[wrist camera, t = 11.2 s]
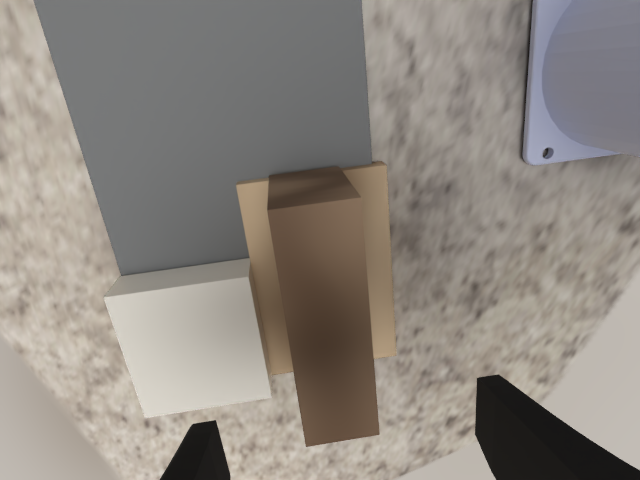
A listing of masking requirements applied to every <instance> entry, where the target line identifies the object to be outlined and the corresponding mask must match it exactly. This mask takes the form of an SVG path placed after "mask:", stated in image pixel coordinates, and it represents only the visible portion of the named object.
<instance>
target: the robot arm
mask: <svg viewBox="0 0 640 480" xmlns="http://www.w3.org/2000/svg"><path fill="white" fill-rule="evenodd" d="M546 148H548V154H547V155H546V156H545V157H543V155H542V154H543V151H544V150H545V149H546ZM616 154H627V155H632V156H636V157H640V0H533V8H532V23H531V38H530V52H529V67H528V82H527V97H526V112H525V126H524V141H523V159H524V161H525V162H526V163H528V164H530V165H542V164H550V163H557V162H565V161H572V160H579V159H587V158H594V157H602V156H609V155H616ZM475 435H476V437H477V439H478V442H479V444H480V446H481V449H482V451H483V453H484V455H485V458H486V460H487V462H488V465H489V467H490V469H491V471H492V473H493V475H494V476H495V478H496V480H640V470H638V469H636V468H634V467H633V466H631V465H629V464H628V463H626V462H624V461H623V460H621V459H619V458H618V457H616V456H615V455H613V454H611V453H610V452H608V451H607V450H605V449H604V448H602V447H600V446H599V445H597V444H596V443H594V442H593V441H591V440H589V439H588V438H586V437H585V436H583V435H582V434H580V433H579V432H577V431H576V430H574V429H573V428H572V427H570V426H569V425H567V424H566V423H564V422H563V421H562V420H560V419H559V418H557V417H556V416H554V415H553V414H552V413H550V412H549V411H547V410H546V409H545V408H543V407H542V406H541V405H539V404H538V403H537V402H535V401H534V400H532V399H531V398H530V397H528V396H527V395H526V394H524V393H523V392H522V391H520V390H519V389H518V388H516V387H515V386H514V385H512V384H511V383H510V382H508V381H507V380H505V379H504V378H503V377H501V376H500V375H492V376H486V377H480V378H477V397H476V426H475ZM160 480H230V472H229V468H228V465H227V461H226V457H225V453H224V449H223V446H222V442H221V438H220V434H219V430H218V427H217V423H216V420H214V421H208V422H202V423H196V424H193V425H192V426H191V427H190V428H189V430H188V432H187V434H186V436H185V437H184V439H183V441H182V443H181V444H180V446H179V448H178V450H177V451H176V453H175V455H174V457H173V458H172V460H171V462H170V463H169V465H168V467H167V469H166V470H165V472H164V474H163V475H162V477H161V478H160Z"/></svg>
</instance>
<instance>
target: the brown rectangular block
mask: <svg viewBox="0 0 640 480" xmlns="http://www.w3.org/2000/svg"><path fill="white" fill-rule="evenodd" d="M267 213H268V219H269V225H270V231H271V237H272V243H273V249H274V255H275V261H276V267H277V273H278V280H279V286H280V292H281V298H282V304H283V310H284V316H285V322H286V328H287V334H288V340H289V346H290V352H291V359H292V365H293V371H294V377H295V383H296V389H297V395H298V401H299V407H300V413H301V419H302V425H303V431H304V437H305V444H306V447H308V446H314V445H320V444H326V443H332V442H338V441H344V440H350V439H356V438H362V437H368V436H374V435H379V422H378V409H377V396H376V383H375V370H374V357H373V344H372V331H371V318H370V305H369V292H368V278H367V265H366V252H365V239H364V226H363V213H362V200H361V196H360V195H359V194H358V192H357V191H356V189H355V188H354V187H353V185H352V184H351V182H350V181H349V180H348V178H347V177H346V175H345V174H344V173H343V171H342V170H341V169H340V167H339V166H337V167H329V168H322V169H314V170H307V171H299V172H291V173H284V174H276V175H269V183H268V202H267Z"/></svg>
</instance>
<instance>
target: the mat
mask: <svg viewBox="0 0 640 480" xmlns="http://www.w3.org/2000/svg"><path fill="white" fill-rule="evenodd" d="M34 3H35V6H36V9H37V13H38V16H39V19H40V22H41V25H42V28H43V31H44V35H45V38H46V41H47V44H48V47H49V50H50V53H51V57H52V60H53V63H54V66H55V69H56V72H57V75H58V78H59V82H60V85H61V88H62V91H63V94H64V97H65V100H66V104H67V107H68V110H69V113H70V116H71V119H72V122H73V126H74V129H75V132H76V135H77V138H78V141H79V144H80V147H81V151H82V154H83V157H84V160H85V163H86V166H87V169H88V173H89V176H90V179H91V182H92V185H93V188H94V191H95V195H96V198H97V201H98V204H99V207H100V210H101V213H102V217H103V220H104V223H105V226H106V229H107V232H108V235H109V238H110V242H111V245H112V248H113V251H114V254H115V257H116V260H117V264H118V267H119V270H120V273H121V276H126V275H133V274H140V273H147V272H154V271H161V270H168V269H175V268H182V267H189V266H196V265H203V264H210V263H217V262H224V261H231V260H238V259H245V258H250V257H249V251H248V246H247V241H246V236H245V230H244V225H243V220H242V214H241V209H240V204H239V199H238V193H237V188H236V184H237V182H239V181H247V180H254V179H262V178H269V175H276V174H284V173H291V172H299V171H307V170H314V169H322V168H329V167H337V166H339V167H340V168H345V167H353V166H360V165H368V164H372V154H371V139H370V124H369V108H368V93H367V77H366V62H365V47H364V31H363V16H362V1H361V0H34Z"/></svg>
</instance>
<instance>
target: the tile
mask: <svg viewBox="0 0 640 480" xmlns="http://www.w3.org/2000/svg"><path fill="white" fill-rule="evenodd" d="M104 300H105V303H106V306H107V309H108V312H109V315H110V318H111V321H112V324H113V327H114V330H115V333H116V335H117V338H118V341H119V344H120V347H121V350H122V353H123V356H124V359H125V362H126V365H127V367H128V370H129V373H130V376H131V379H132V382H133V385H134V388H135V391H136V394H137V397H138V399H139V402H140V405H141V408H142V411H143V414H144V417H145V418H149V417H155V416H162V415H168V414H174V413H181V412H187V411H193V410H199V409H206V408H212V407H218V406H224V405H231V404H237V403H243V402H249V401H256V400H262V399H268V398H272V373H271V368H270V362H269V357H268V352H267V347H266V341H265V336H264V331H263V325H262V320H261V315H260V310H259V304H258V299H257V294H256V288H255V283H254V278H253V273H252V267H251V262H250V258H245V259H238V260H231V261H224V262H217V263H210V264H203V265H196V266H189V267H182V268H175V269H168V270H161V271H154V272H147V273H140V274H133V275H126V276H120V277H119V278H118V279H117V281H116V282H115V283H114V285H113V286H112V287H111V289H110V290H109V291H108V292H107V294H106V295H105V296H104Z"/></svg>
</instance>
